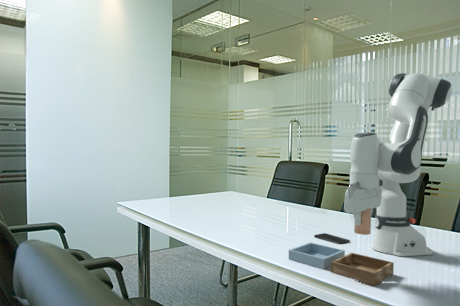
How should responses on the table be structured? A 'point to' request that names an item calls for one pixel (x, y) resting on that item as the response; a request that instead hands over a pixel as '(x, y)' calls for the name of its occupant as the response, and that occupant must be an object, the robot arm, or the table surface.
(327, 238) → the phone
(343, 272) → the tray
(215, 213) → the table surface
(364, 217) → the orange-tan rounded cylinder
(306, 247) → the bin
